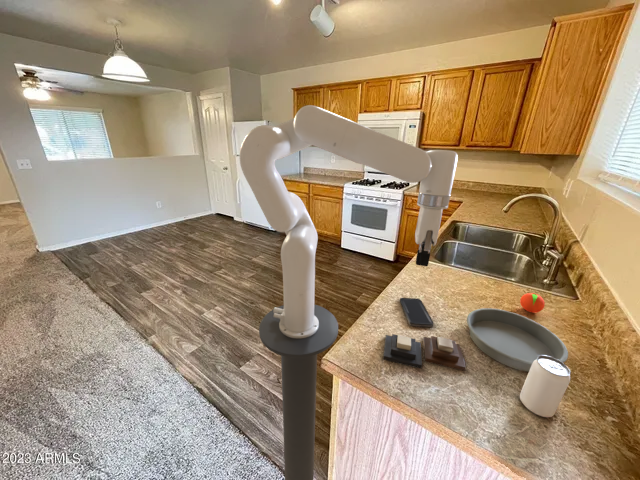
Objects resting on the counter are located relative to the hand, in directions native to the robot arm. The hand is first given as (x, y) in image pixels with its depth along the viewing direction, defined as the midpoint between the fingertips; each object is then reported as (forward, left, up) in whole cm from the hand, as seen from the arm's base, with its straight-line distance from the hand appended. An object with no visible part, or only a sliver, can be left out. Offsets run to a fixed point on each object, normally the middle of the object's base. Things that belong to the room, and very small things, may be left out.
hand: (421, 264), depth 75 cm
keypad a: (-2, -9, -24) cm, 26 cm away
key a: (-2, -9, -21) cm, 23 cm away
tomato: (+42, +27, -24) cm, 56 cm away
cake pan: (+29, +5, -24) cm, 38 cm away
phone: (+2, +12, -24) cm, 27 cm away
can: (+28, -16, -24) cm, 40 cm away
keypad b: (+9, -6, -24) cm, 26 cm away
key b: (+9, -6, -22) cm, 24 cm away
